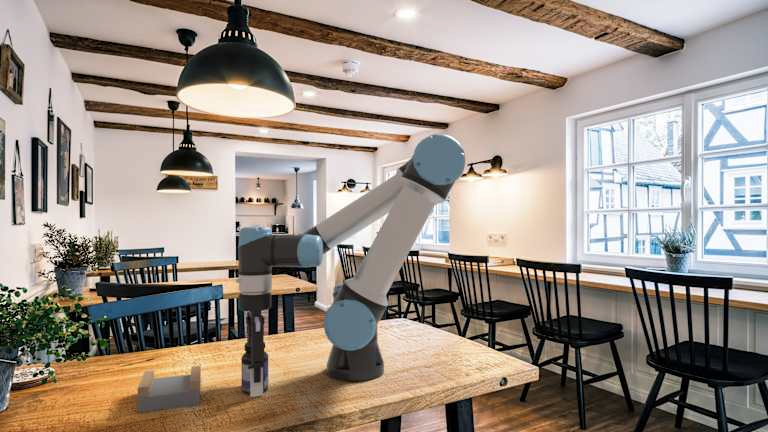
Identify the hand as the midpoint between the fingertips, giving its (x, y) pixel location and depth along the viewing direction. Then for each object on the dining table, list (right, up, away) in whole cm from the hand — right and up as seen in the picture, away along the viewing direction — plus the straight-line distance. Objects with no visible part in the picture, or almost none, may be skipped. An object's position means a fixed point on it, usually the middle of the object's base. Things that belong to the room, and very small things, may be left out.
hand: (254, 389), depth 106 cm
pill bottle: (0, 0, 0) cm, 0 cm away
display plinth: (-18, 0, -5) cm, 18 cm away
